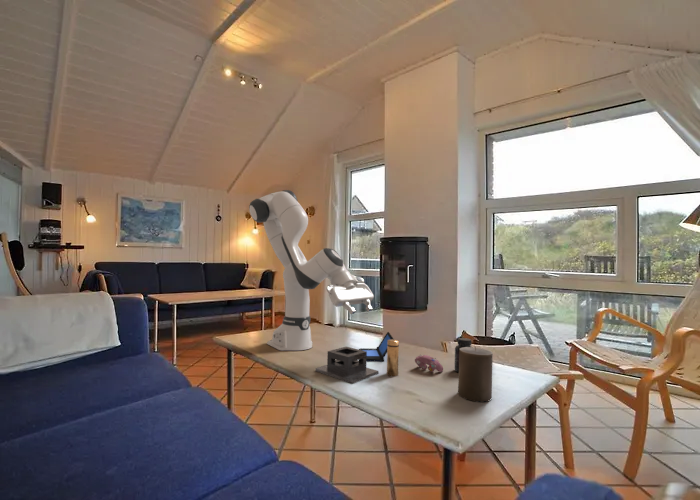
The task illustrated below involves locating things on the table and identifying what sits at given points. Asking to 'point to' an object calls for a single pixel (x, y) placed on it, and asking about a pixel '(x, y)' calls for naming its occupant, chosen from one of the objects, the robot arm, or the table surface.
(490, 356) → the pillar candle
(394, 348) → the gold cylindrical bottle
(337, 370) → the collar stand
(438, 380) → the table surface
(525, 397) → the table surface
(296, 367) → the table surface
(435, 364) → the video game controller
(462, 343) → the supplement bottle
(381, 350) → the handheld game console
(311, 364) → the table surface
